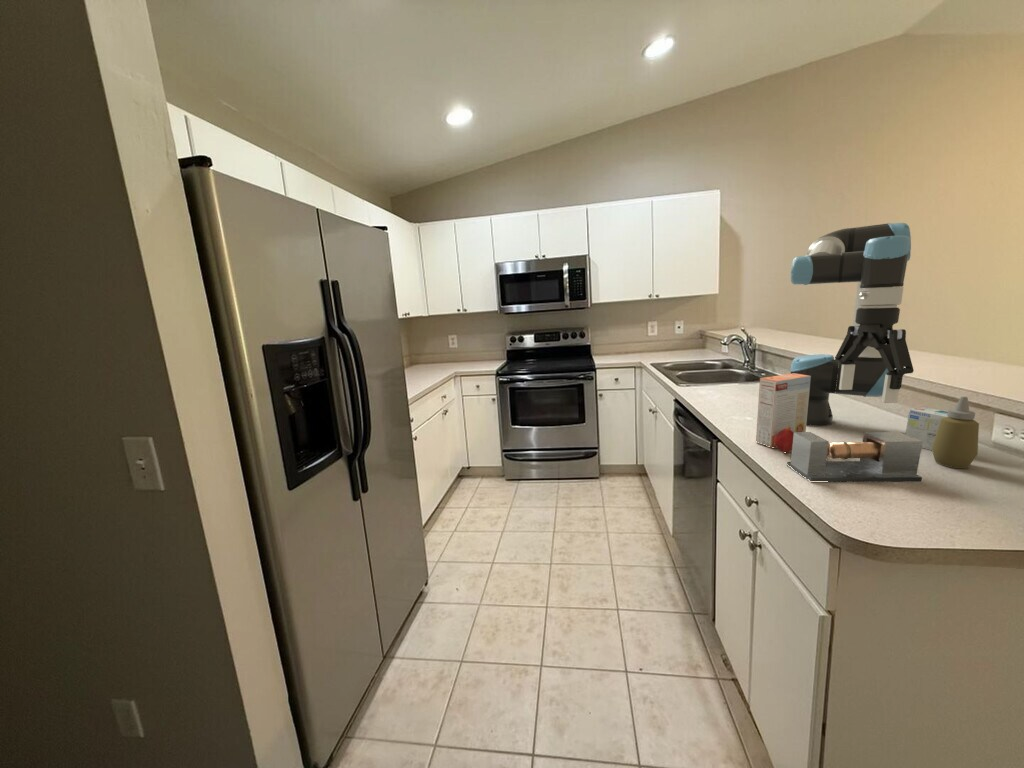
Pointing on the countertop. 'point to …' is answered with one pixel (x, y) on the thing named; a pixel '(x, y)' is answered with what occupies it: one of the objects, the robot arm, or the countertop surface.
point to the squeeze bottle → (957, 437)
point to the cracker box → (782, 405)
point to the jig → (892, 465)
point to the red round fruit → (784, 440)
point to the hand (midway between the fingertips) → (865, 395)
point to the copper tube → (853, 450)
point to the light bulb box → (924, 424)
